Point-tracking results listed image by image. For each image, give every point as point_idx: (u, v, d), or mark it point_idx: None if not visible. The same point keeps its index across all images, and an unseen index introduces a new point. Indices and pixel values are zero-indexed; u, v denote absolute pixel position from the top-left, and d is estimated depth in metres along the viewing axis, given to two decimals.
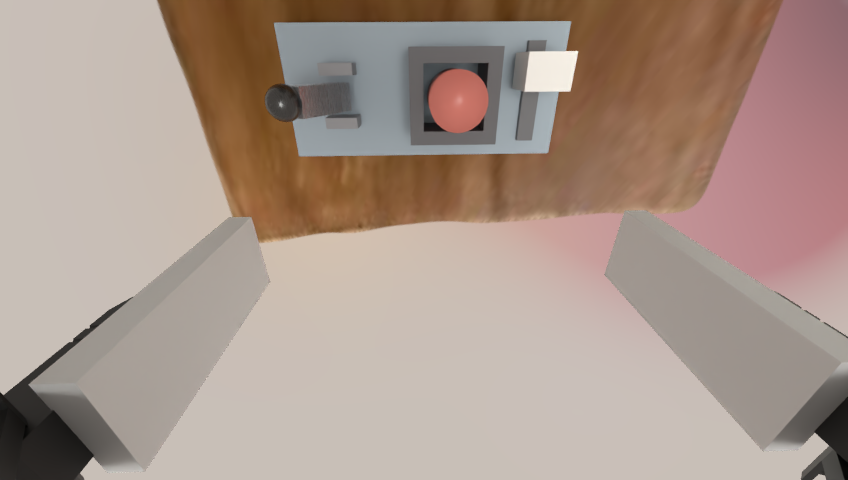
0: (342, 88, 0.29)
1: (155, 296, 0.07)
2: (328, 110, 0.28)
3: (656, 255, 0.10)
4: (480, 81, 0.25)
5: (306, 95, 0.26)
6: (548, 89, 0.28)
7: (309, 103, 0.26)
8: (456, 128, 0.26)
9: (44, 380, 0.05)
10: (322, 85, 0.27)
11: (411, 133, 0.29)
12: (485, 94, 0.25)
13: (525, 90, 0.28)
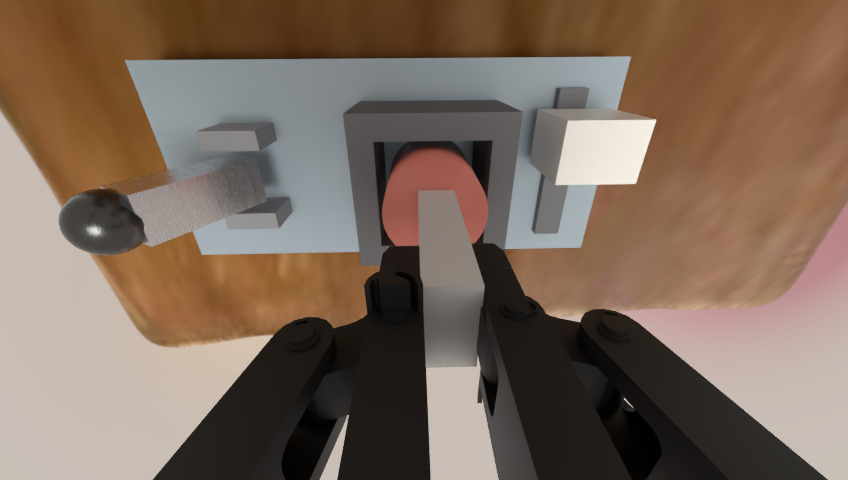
0: (243, 172, 0.17)
1: (436, 240, 0.09)
2: (214, 215, 0.16)
3: None
4: (473, 182, 0.13)
5: (153, 205, 0.14)
6: (597, 181, 0.16)
7: (163, 216, 0.14)
8: None
9: (430, 285, 0.08)
10: (194, 178, 0.15)
11: (360, 248, 0.17)
12: (482, 202, 0.14)
13: (557, 183, 0.16)
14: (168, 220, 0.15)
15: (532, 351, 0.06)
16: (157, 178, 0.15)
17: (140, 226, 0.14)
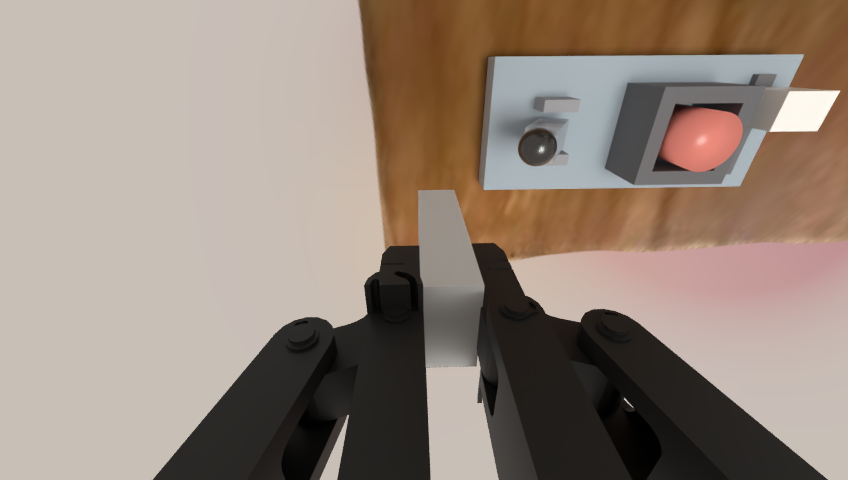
0: (566, 125, 0.28)
1: (435, 240, 0.09)
2: (559, 150, 0.27)
3: None
4: (739, 123, 0.24)
5: (558, 138, 0.24)
6: (795, 129, 0.26)
7: (556, 146, 0.25)
8: (698, 167, 0.26)
9: (430, 285, 0.08)
10: (562, 125, 0.26)
11: (638, 173, 0.28)
12: (739, 135, 0.25)
13: (771, 130, 0.26)
14: None
15: (532, 351, 0.06)
16: (544, 125, 0.26)
17: None
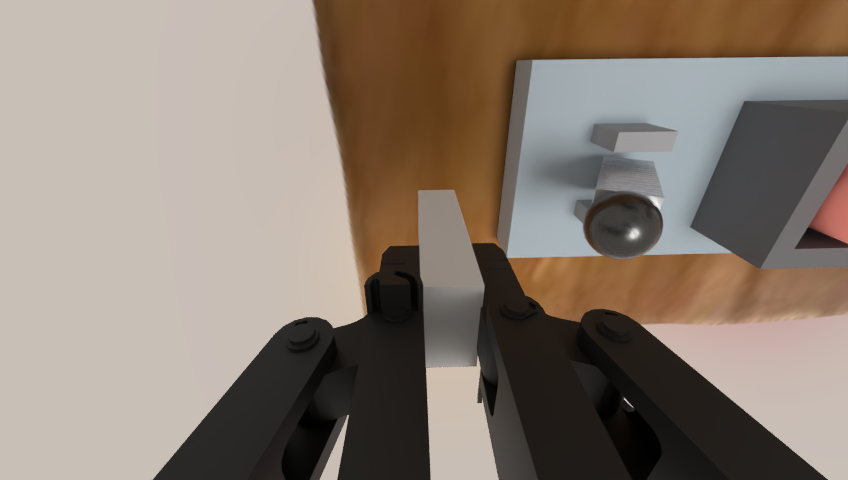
0: None
1: (435, 240, 0.09)
2: None
3: None
4: None
5: None
6: None
7: None
8: None
9: (430, 285, 0.08)
10: None
11: (771, 251, 0.17)
12: None
13: None
14: None
15: (532, 351, 0.06)
16: (626, 180, 0.15)
17: None
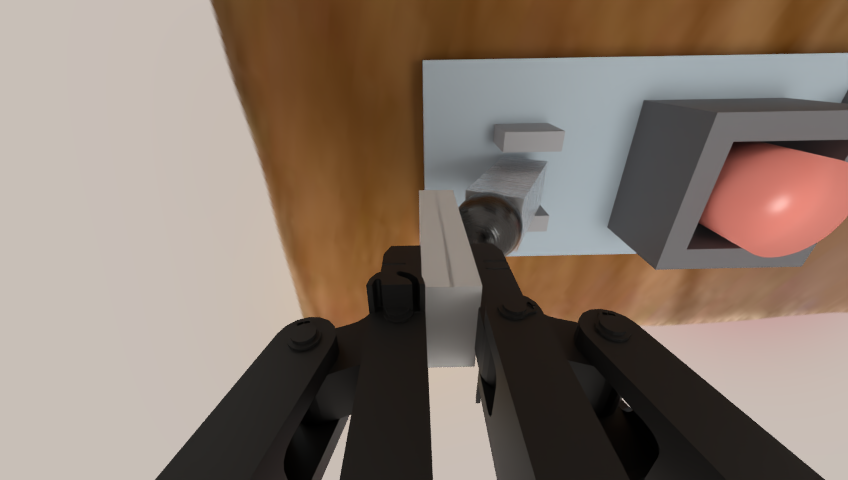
0: (543, 173, 0.17)
1: (437, 240, 0.09)
2: (531, 217, 0.16)
3: None
4: None
5: (525, 208, 0.13)
6: None
7: (524, 220, 0.14)
8: (772, 250, 0.15)
9: (431, 284, 0.08)
10: (535, 180, 0.15)
11: (663, 252, 0.17)
12: None
13: None
14: (524, 224, 0.14)
15: (530, 351, 0.06)
16: (502, 181, 0.14)
17: None
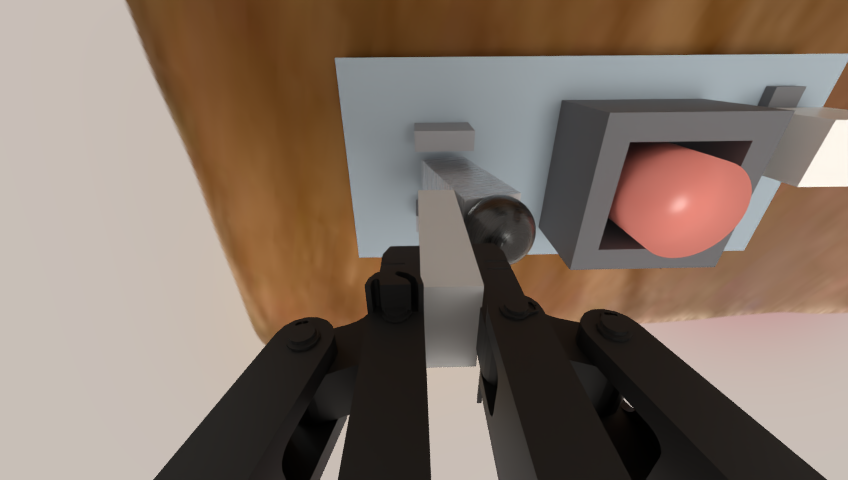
0: None
1: (436, 240, 0.09)
2: None
3: None
4: (745, 179, 0.13)
5: None
6: (842, 183, 0.15)
7: None
8: (674, 251, 0.15)
9: (430, 285, 0.08)
10: (489, 175, 0.15)
11: (576, 252, 0.17)
12: (745, 200, 0.14)
13: (799, 184, 0.15)
14: None
15: (532, 351, 0.06)
16: (473, 182, 0.14)
17: None
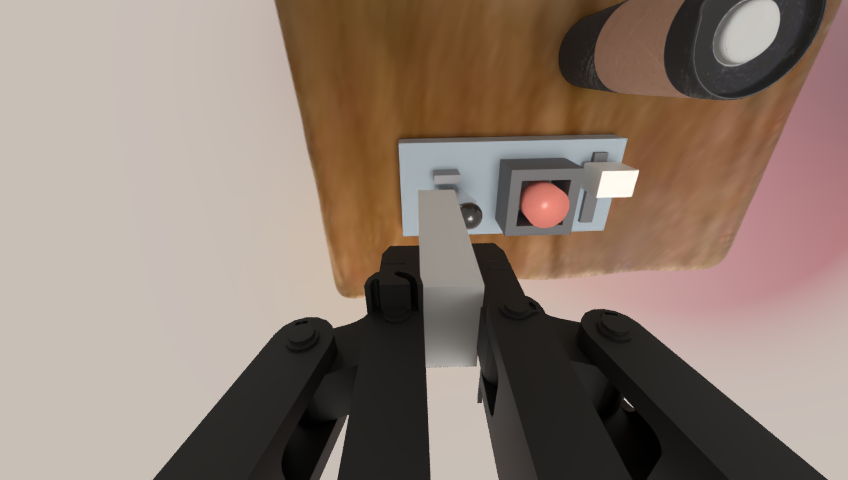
0: None
1: (436, 240, 0.09)
2: None
3: None
4: (564, 195, 0.34)
5: None
6: (614, 195, 0.36)
7: None
8: (544, 225, 0.36)
9: (430, 285, 0.08)
10: (466, 194, 0.36)
11: (506, 227, 0.37)
12: (567, 203, 0.35)
13: (597, 196, 0.36)
14: None
15: (532, 351, 0.06)
16: (459, 197, 0.35)
17: None
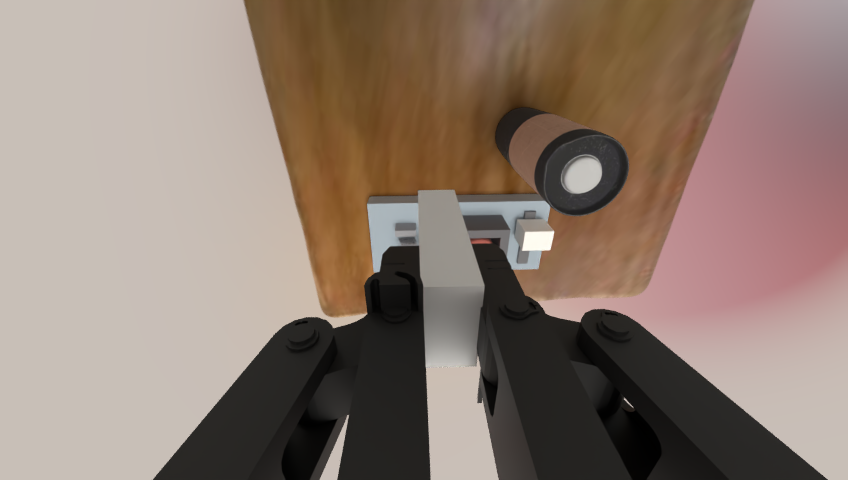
0: None
1: (436, 240, 0.09)
2: None
3: None
4: None
5: None
6: (536, 249, 0.46)
7: None
8: None
9: (430, 285, 0.08)
10: None
11: None
12: None
13: (522, 250, 0.46)
14: None
15: (532, 351, 0.06)
16: None
17: None
